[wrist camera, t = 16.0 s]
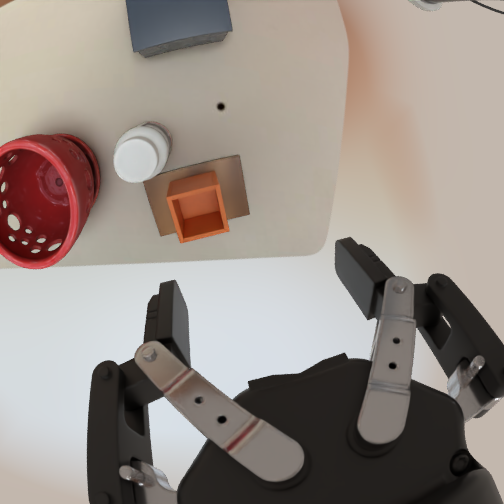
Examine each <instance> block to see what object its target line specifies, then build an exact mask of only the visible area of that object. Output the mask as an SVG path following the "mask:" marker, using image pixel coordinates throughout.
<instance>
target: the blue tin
mask: <svg viewBox="0 0 504 504" xmlns="http://www.w3.org/2000/svg"><path fill="white" fill-rule="evenodd" d="M126 6H127V13H128V21H129V28H130V34H131V40H132V47H133V52H139V53H140V54H141V55H142V56H143V57H145V58H147V57H150V56H154V55H157V54H161V53H165V52H169V51H173V50H177V49H181V48H186V47H191V46H196V45H201V44H206V43H212V42H219V41H223V40H224V38H225V36H226V35H227V33H228V32H230V31H232V24H231V19H230V14H229V8H228V3H227V0H126Z"/></svg>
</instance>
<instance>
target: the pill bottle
mask: <svg viewBox="0 0 504 504" xmlns="http://www.w3.org/2000/svg"><path fill="white" fill-rule="evenodd" d="M171 146H172V139H171V135H170V133H169V131H168V130H167V128H166V127H165V126H163V125H162V124H160V123H157V122H145V123H142V124H140V125H138V126H136V127H134V128H132V129H130V130H128V131H127V132H126V133H124V134H123V135H122V136H121V137H120V139H119V140H118V142H117V144H116V146H115V150H114V160H113V163H114V168H115V171H116V173H117V174H118V176H119V177H120V178H122V179H123V180H125V181H127V182H130V183H139V182H143V181H145V180H149V179H151V178H153V177H155V176H156V175H157V174H158V173H159V172H160V171H161V170H162V169H163V168H164V166H165V164H166V162H167V159H168V156H169V154H170V150H171Z"/></svg>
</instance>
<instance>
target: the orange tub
mask: <svg viewBox="0 0 504 504" xmlns="http://www.w3.org/2000/svg"><path fill="white" fill-rule="evenodd" d="M166 199H167V202H168V205H169V209H170V212H171V215H172V219H173V222H174V225H175V228H176V231H177V234H178V238H179V241H180V243H184V242H188V241H192V240H196V239H200V238H204V237H208V236H212V235H216V234H220V233H225V232H229V226H228V222H227V217H226V213H225V208H224V203H223V199H222V194H221V189H220V185H219V182H218V179H217V176H216V173H215V171H211V172H207V173H203V174H199V175H194V176H190V177H187V178H183V179H179V180H175V181H171V182H170V183H169V187H168V192H167V196H166Z"/></svg>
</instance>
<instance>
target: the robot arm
mask: <svg viewBox="0 0 504 504" xmlns="http://www.w3.org/2000/svg"><path fill="white" fill-rule="evenodd" d="M421 1H423V2H424V3H427V4H437V3H442V2H453V1H467V0H421ZM468 1H469V0H468ZM470 1H472V2H474V3H476V4H478V5H480V6H482V7H485V8H488V9H490V10H493V11H495V12H498V13H501V14H504V12H502V11H499V10H496V9H493V8H491V7H489V6H486V5H484V4H481V3H479V2H477V1H475V0H470ZM335 269H336V273H337V275H338V277H339V279H340V280H341V281H342V283H343V284H344V286H345V287H346V289H347V290H348V292H349V293H350V295H351V296H352V297H353V299H354V301H355V302H356V304H357V305H358V306H359V308H360V309H361V311H362V313H363V314H364V315H365V317H366V318H367V320H370V319H372V318H376V319H377V324H376V330H375V335H374V340H373V345H372V349H371V354H370V358H369V360H365V359H358V358H353V359H352V358H351V359H348V357H347V356H346V354H345V353H342V354H339V355H336V356H333V357H331V358H328V359H325V360H322V361H320V362H319V363H317V364H315V365H314V366H312V367H310V368H309V369H307V370H305V371H303V372H301V373H298V374H284V375H271V376H267V377H263V378H259V379H255V380H251V381H248V384H249V388H248V389H246V390H244V391H243V392H241V393H239V394H238V395H237V396H236V397H235V398H234V399H233V400H232V399H230V398H229V397H228V396H226V395H225V394H224V393H223V392H221V391H220V390H219V389H217V388H216V387H215V386H214V385H212V384H211V383H210V382H208V381H207V380H206V379H205V378H204V377H202V376H201V375H200V374H199V373H198V372H197V371H195V370H194V369H193V368H191V362H190V344H189V321H188V310H187V306H186V303H185V301H184V298H183V296H182V293H181V291H180V288H179V286H178V284H177V282H176V280H171V281H167V282H163V283H160V288H159V294H157V295H153V296H152V298H151V299H150V301H149V303H148V307H147V315H146V324H145V332H144V333H145V334H144V342H143V344H142V345H141V346H140V347H139V348H138V349H137V351H136V353H135V356H134V358H133V359H131V360H129V361H127V362H125V363H123V364H120V365H117V364H116V363H115V362H114V361H110V360H108V361H104V362H102V363H100V364H98V365H97V367H96V368H95V369H94V371H93V374H92V381H91V390H90V400H89V412H88V430H87V431H88V432H87V479H88V496H89V502H90V504H503V502H502V499H501V496H500V494H499V492H498V489H497V487H496V485H495V482H494V480H493V478H492V476H491V474H490V473H489V471H487V470H486V469H485V468H484V467H483V466H482V465H481V464H479V463H478V462H477V461H476V460H475V459H474V458H473V457H472V455H471V454H470V453H469V451H468V449H467V445H466V440H465V431H464V424H465V423H466V422H468V421H469V420H470V419H472V418H480V417H482V416H483V415H484V414H485V413H486V412H488V411H489V410H490V409H491V408H492V407H493V406H494V405H495V404H497V403H498V402H499V400H501V399H502V398H503V397H504V345H503V343H502V342H501V340H500V339H499V338H498V336H497V335H496V334H495V332H494V331H493V330H492V328H491V327H490V326H489V324H488V323H487V322H486V320H485V319H484V318H483V317H482V315H481V314H480V313H479V312H478V310H477V309H476V308H475V307H474V306H473V304H472V303H471V302H470V300H469V299H468V298H467V297H466V296H465V295H464V294H463V292H462V291H461V290H460V289H459V288H458V287H457V285H456V284H455V283H454V282H453V281H452V280H451V279H450V278H449V277H448V276H446V275H444V274H438V273H437V274H433V275H431V276H430V277H429V279H428V282H427V283H425V284H413V283H412V282H411V281H410V280H408V279H407V278H404V277H399V276H395V275H394V274H393V273H392V272H391V271H390V269H389V268H388V267H387V266H386V265H385V264H384V263H383V262H382V261H380V259H379V258H378V256H376V254H375V253H374V252H373V251H372V250H371V249H370V248H368V247H366V246H364V245H362V244H360V245H358V244H357V243H356V242H355V241H354V240H353V239H352V238H351V237H348V238H344V239H340V240H337V241H336V243H335ZM442 316H444V317H445V318H446V320H447V321H448V322H449V324H450V326H451V328H450V327H449V326H448V325H447V323H446V322H445V320H444V319H443V317H442ZM416 328H418V330H419V331H420V333H421V334H422V336H423V338H424V339H425V341H426V342H427V344H428V346H429V347H430V349H431V350H432V352H433V354H434V355H435V357H436V359H437V360H438V362H439V364H440V365H441V367H442V369H443V370H444V372H445V374H446V375H447V377H448V382H447V389H448V394H445V393H443V392H440V391H438V390H436V389H433V388H431V387H429V386H426V385H424V384H422V383H419V382H417V381H415V380H412V379H411V375H412V366H413V358H414V348H415V335H416ZM189 368H190V369H189ZM161 397H165V398H166V399H167V400H168V401H169V402H170V403H171V404H172V405H173V406H174V407H175V408H176V409H177V410H178V411H179V412H180V413H181V414H182V415H183V416H184V417H185V418H186V419H187V420H188V421H189V422H190V423H191V424H192V425H194V426H195V427H196V428H197V429H198V430H199V431H200V432H201V433H202V434H203V435H204V436H205V437H206V438H208V439H207V441H206V442H205V444H204V445H203V447H202V449H201V450H200V452H199V454H198V455H197V457H196V458H195V460H194V461H193V463H192V465H191V467H190V468H189V469H188V471H187V472H186V474H185V476H184V477H183V479H182V480H181V482H180V484H179V486H178V489H177V491H175V490H174V489H172V488H171V486H170V485H169V483H168V480H167V477H166V475H165V474H164V473H163V472H162V471H161V470H159V469H157V468H155V467H153V459H152V450H151V440H150V429H149V415H148V404H149V403H151V402H153V401H155V400H157V399H160V398H161Z"/></svg>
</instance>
